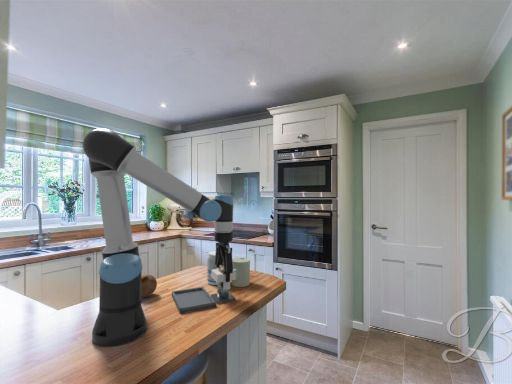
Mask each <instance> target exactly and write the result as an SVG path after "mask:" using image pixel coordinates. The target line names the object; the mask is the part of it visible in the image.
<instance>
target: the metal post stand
mask: <svg viewBox="0 0 512 384" xmlns="http://www.w3.org/2000/svg"><path fill="white" fill-rule="evenodd" d="M220 268H221V270H220V272H221V273H224V265H223V264H220ZM216 286H217V292H216V293H211V294H210V296H211V297H212V298H213V299H214V300H215V302H216V305H218V304H223V303H229V302H235V301H236V297H235V295H233V294H232V293H231V292H230V289H228V290H223V282H220V284H218V285H216Z"/></svg>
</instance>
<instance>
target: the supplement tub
mask: <svg viewBox="0 0 512 384" xmlns="http://www.w3.org/2000/svg"><path fill="white" fill-rule="evenodd" d="M215 255H216V250H213V251H208V253H207V269H206V270H207V274H206V276H207V277H206V282H207V284H209V285H211V286H217V285H218V284H220V283H216V281H215V280H214V279H213V278H212V277H211V270H213V269H217V267H216V265H215Z"/></svg>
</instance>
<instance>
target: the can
mask: <svg viewBox="0 0 512 384" xmlns="http://www.w3.org/2000/svg"><path fill="white" fill-rule="evenodd" d="M232 264H233V269H236V270H237V277H236V280H231V281H230V285H231V286H233V287H237V288H241V287H243V288H244V287H247V286H250V285H251V275H250V274H251V273H250V272H251V270H250V268H251V259H250V258H247V257H235V258H232Z"/></svg>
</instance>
